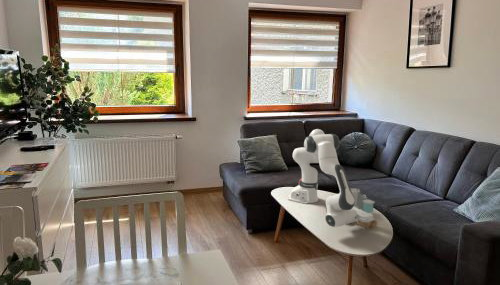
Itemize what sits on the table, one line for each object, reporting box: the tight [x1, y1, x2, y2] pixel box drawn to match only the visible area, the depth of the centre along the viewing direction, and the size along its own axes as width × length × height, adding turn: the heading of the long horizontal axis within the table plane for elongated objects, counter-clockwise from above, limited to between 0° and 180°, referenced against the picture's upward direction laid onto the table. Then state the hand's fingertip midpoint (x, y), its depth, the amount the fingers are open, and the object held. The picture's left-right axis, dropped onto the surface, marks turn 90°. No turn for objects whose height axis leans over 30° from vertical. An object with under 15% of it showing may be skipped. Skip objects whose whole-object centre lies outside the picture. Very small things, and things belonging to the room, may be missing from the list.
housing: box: [362, 198, 376, 221], centre depth 224 cm, size 5×5×12 cm
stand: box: [356, 218, 378, 230], centre depth 226 cm, size 8×8×4 cm
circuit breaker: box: [350, 187, 368, 210], centre depth 247 cm, size 8×14×15 cm, turn 78°
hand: (365, 210), depth 223 cm, fingers open, 8 cm apart
